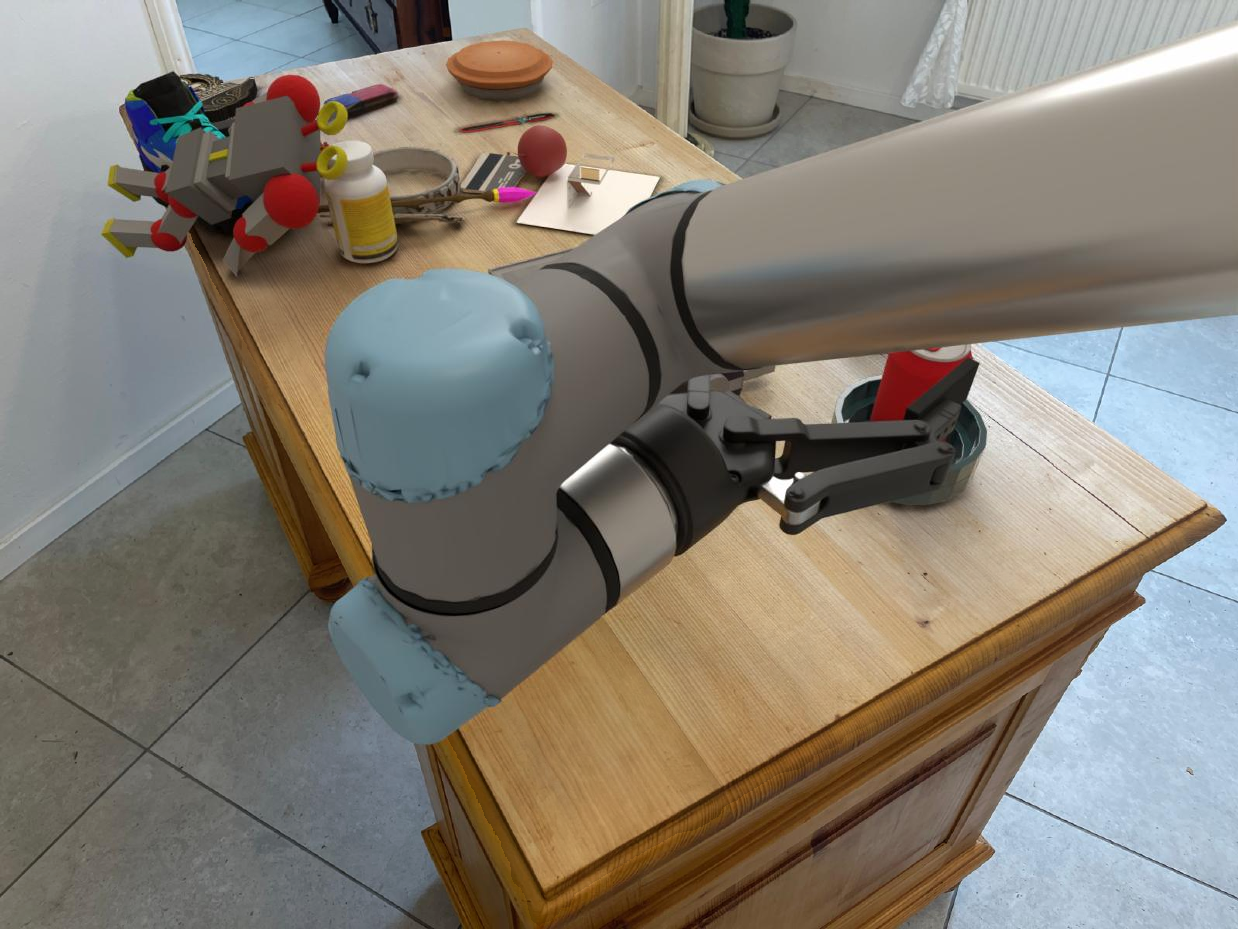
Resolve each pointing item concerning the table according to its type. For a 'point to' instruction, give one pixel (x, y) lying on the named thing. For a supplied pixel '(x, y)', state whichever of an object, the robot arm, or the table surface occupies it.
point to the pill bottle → (361, 207)
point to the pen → (509, 122)
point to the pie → (499, 70)
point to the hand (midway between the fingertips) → (870, 329)
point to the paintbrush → (461, 198)
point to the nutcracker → (415, 218)
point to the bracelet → (421, 161)
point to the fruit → (541, 151)
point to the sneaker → (171, 130)
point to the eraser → (366, 98)
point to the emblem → (220, 95)
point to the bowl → (964, 438)
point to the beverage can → (913, 378)
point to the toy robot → (239, 175)
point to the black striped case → (493, 173)
